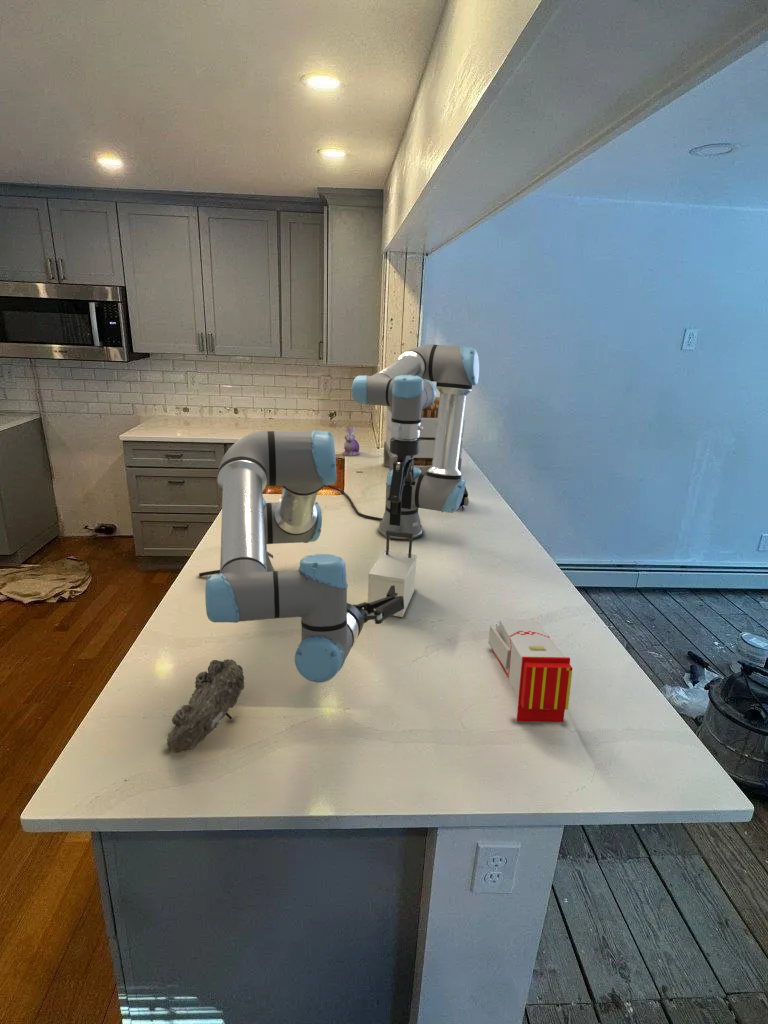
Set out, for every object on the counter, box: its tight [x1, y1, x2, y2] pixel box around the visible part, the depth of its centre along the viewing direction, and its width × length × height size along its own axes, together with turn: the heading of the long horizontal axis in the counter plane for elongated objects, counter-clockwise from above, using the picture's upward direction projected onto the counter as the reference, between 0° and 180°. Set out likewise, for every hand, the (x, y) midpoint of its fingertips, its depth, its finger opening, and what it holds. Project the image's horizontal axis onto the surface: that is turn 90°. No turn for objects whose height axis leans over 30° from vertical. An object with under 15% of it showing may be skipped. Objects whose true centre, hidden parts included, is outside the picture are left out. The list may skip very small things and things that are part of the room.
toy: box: [488, 619, 573, 723], centre depth 122 cm, size 12×13×30 cm
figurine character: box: [459, 486, 470, 511], centre depth 230 cm, size 7×8×15 cm
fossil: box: [166, 658, 245, 754], centre depth 106 cm, size 22×10×15 cm
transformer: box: [383, 396, 465, 472], centre depth 268 cm, size 34×33×41 cm
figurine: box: [343, 425, 360, 456], centre depth 302 cm, size 9×10×15 cm
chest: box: [367, 560, 417, 618], centre depth 153 cm, size 15×10×10 cm, turn 166°
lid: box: [368, 530, 418, 583], centre depth 150 cm, size 16×10×8 cm, turn 166°
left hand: (362, 592), depth 124 cm, fingers open, 13 cm apart
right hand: (400, 516), depth 152 cm, fingers open, 13 cm apart
